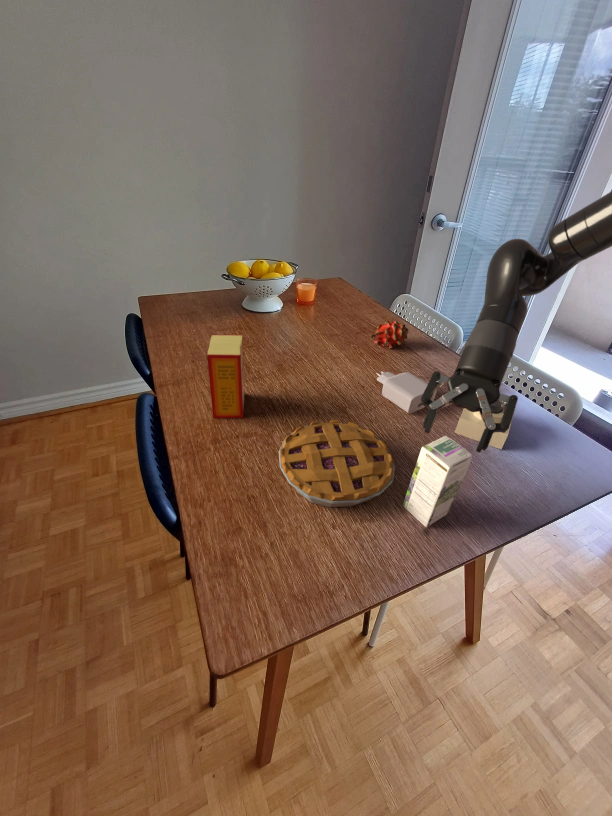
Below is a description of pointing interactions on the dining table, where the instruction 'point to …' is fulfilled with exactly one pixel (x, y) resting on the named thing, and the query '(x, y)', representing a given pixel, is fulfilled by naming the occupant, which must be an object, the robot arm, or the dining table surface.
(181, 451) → the dining table surface
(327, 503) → the pie
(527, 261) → the robot arm
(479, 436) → the beige faceted block
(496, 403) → the lid button
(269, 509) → the dining table surface
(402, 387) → the charger
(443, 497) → the syrup box
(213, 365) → the baking soda box
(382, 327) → the dragon fruit
